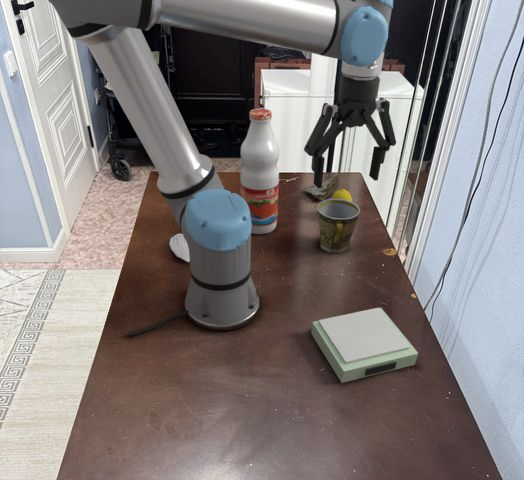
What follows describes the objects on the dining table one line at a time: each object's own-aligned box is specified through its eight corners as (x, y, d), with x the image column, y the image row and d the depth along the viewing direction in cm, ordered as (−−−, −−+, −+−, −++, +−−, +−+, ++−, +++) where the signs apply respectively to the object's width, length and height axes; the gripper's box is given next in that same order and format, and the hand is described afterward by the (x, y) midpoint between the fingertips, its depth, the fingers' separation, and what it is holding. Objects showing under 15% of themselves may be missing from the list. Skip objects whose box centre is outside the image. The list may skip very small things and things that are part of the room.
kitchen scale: (342, 384, 88) (345, 370, 85) (310, 333, 97) (312, 319, 95) (415, 366, 91) (420, 352, 89) (378, 318, 101) (381, 305, 99)
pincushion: (202, 262, 115) (200, 240, 111) (176, 266, 113) (173, 244, 110) (190, 236, 123) (188, 215, 119) (166, 240, 122) (163, 219, 118)
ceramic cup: (312, 234, 125) (316, 197, 118) (351, 236, 125) (357, 199, 118) (314, 263, 115) (318, 225, 109) (357, 264, 115) (364, 226, 109)
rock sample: (310, 170, 143) (328, 159, 136) (329, 188, 146) (347, 178, 138) (294, 197, 141) (311, 187, 133) (313, 215, 143) (331, 206, 136)
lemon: (348, 223, 129) (353, 195, 124) (327, 221, 130) (331, 192, 125) (350, 213, 133) (354, 185, 128) (329, 211, 134) (333, 183, 129)
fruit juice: (265, 214, 132) (268, 102, 113) (283, 229, 126) (290, 114, 107) (234, 222, 129) (231, 108, 110) (251, 238, 123) (252, 121, 104)
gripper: (307, 85, 88) (299, 196, 103) (428, 75, 94) (404, 181, 109) (292, 74, 94) (286, 181, 108) (407, 65, 100) (387, 168, 114)
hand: (345, 182), depth 109 cm, fingers open, 13 cm apart
